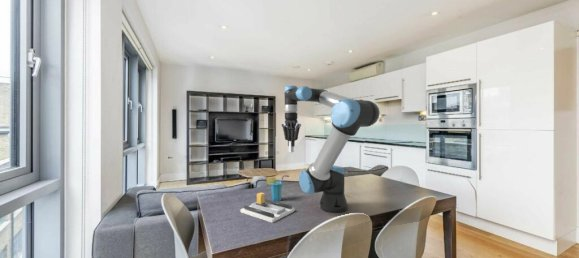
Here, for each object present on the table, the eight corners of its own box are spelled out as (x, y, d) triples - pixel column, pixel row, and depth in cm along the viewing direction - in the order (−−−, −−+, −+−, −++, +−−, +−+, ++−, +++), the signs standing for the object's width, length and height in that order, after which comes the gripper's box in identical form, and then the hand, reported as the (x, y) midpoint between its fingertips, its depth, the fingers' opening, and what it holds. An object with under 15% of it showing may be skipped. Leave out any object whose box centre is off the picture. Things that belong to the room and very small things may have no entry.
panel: (294, 211, 124) (294, 205, 124) (272, 222, 109) (272, 215, 109) (264, 202, 137) (264, 197, 137) (240, 212, 123) (240, 205, 122)
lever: (265, 206, 126) (265, 193, 126) (261, 208, 124) (261, 194, 124) (260, 204, 128) (260, 192, 128) (256, 206, 126) (256, 193, 126)
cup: (287, 197, 148) (287, 173, 147) (290, 200, 140) (290, 176, 140) (265, 198, 144) (265, 174, 144) (267, 203, 137) (267, 177, 136)
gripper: (303, 112, 138) (303, 152, 138) (286, 112, 146) (286, 150, 146) (296, 111, 132) (296, 153, 132) (278, 112, 140) (278, 152, 140)
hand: (291, 152), depth 139 cm, fingers closed
